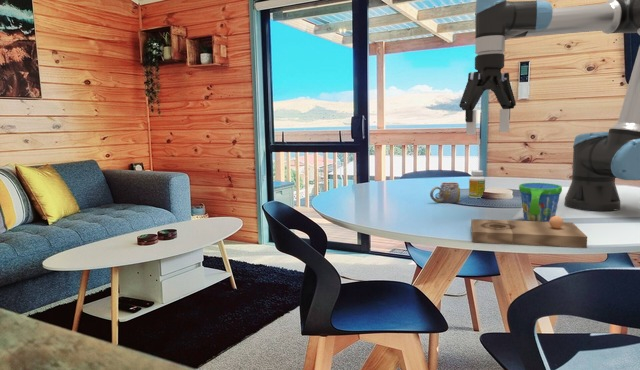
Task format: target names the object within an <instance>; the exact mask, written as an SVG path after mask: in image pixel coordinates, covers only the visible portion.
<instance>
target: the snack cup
mask: <svg viewBox="0 0 640 370" xmlns="http://www.w3.org/2000/svg"><path fill="white" fill-rule="evenodd" d="M518 189H519V192H520V198H521V199H520V200H521V207H522V214H523V215H522V216H523V220H524V221H542V222H549V220H550V218H551V217H553V216H556V213H557V209H558V204H559V200H560V195H561V193H562V191H563V186H562V185H560V184H554V183H547V182H546V183H545V182H525V183H521V184H519V186H518Z"/></svg>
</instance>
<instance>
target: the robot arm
mask: <svg viewBox="0 0 640 370" xmlns="http://www.w3.org/2000/svg"><path fill="white" fill-rule="evenodd" d="M474 15H475V17H474V18H475V19H474V20H475V25H474V26H475V31H474V32H475V37H474V38H475V40H474V41H475V44H474V45H475V46H474V47H475V48H474V49H475V50H474V51H475V52H474V53H475V54H476V55H475V57H474V69H475V70H476V71H473V72H468V75H467V77H468V78H467V83H466V86H465V89H464V91H463V94H462V97H461V99H460V102H459V108H461V109H462V110H463V111H464V112H465V119H464V120H465V125H466V126H465V127H466V128H465V129H466V131H465V133H466V134H465V135H468V136H469V135H472V136H475V135H477V109H475V108H476V106H477V104H478V102H479V101H480V99H481V98H482V96H483V94H484V92H486V90H489V91H491V92H493V94H494V95H495V98H496V99H497V102H498V103H499V105H500V109H499V117H498V118H499V123H498V125H499V127H498V129H499V130H498V131H499V132H498V133H510V119H511V109H514V108H515V107H516V106H517V102H516V99H515V96H514V93H513V92H514V91H513V88H512V85H511V81H510V73H509V72H502V71H501V70H502V69H504V68H505V54H503V53H504V52H505V51H506V40H509V39H518V38H529V37H540V36H541V37H542V36H553V35H555V36H556V35H562V34H563V35H567V34H576V33H591V32H602V33H604V34H607V35H609V34H611V35H612V34H635V33H636V34H638V35H639V36H640V0H607V1H605V3H599V4H588V5H587V4H586V5H585V4H584V5H573V6H562V7H554V8H553V6H552V4H551V2H550V1H548V0H519V1H516V0H515V1H514V0H513V1H509V0H476V1H475V13H474ZM626 89H627V90H626V93H625V95H624V98H623V103H622V106H621V110H620V113H619V116H618V120H617V123H616V124H614V125H612V126H611V127H609V129H608V131H600V132H599V131H598V132H596V131H595V132H587V133H580V134H578V135H576V136H575V137H574V141H573V145H572V149H573V150H572V151H573V152H572V153H573V154H572V173H571V174H572V175H571V183H570V186H569V188H568V190H567V192H566V194H565V197H564V205H565V206H566V207H568V208H571V209H572V208H573V209H577V210H584V211H597V212H598V211H601V212H602V211H603V212H604V211H605V212H606V211H607V212H608V211H616V210H619V209H621V198H620V194H619V192H618V189H617V186H616V179H619V180H622V181H640V45H639V46H638V50H637V54H636V57H635V61H634V64H633V67H632V71H631V75H630V78H629V81H628V86H627V88H626Z"/></svg>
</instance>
